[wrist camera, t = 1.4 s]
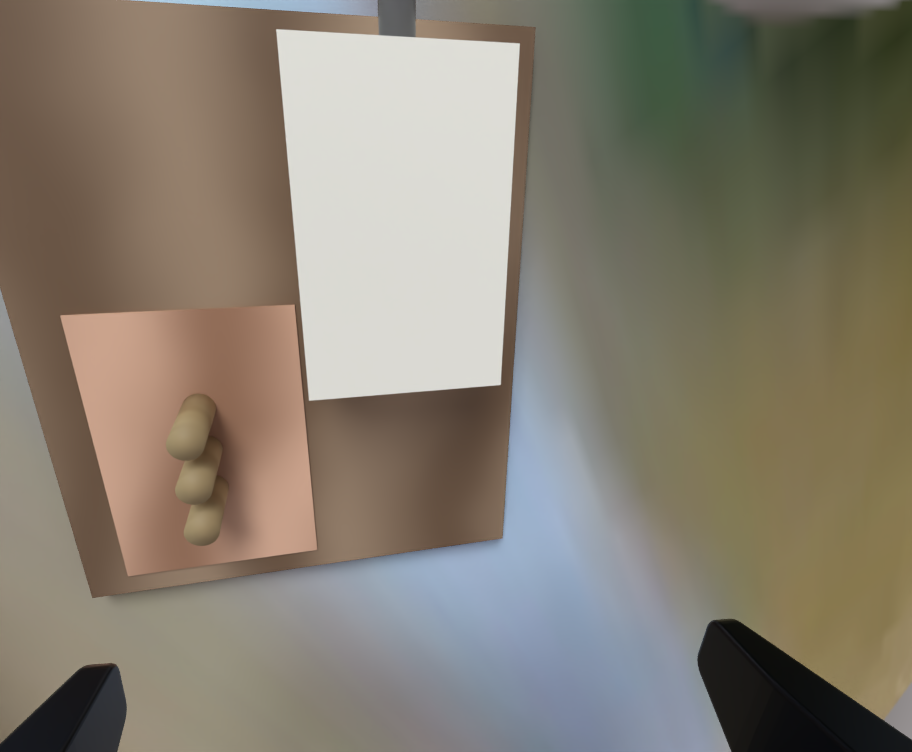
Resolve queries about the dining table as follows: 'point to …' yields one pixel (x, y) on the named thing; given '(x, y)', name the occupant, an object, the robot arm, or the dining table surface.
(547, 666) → the dining table surface
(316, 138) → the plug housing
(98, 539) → the mounting board
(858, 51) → the dining table surface
